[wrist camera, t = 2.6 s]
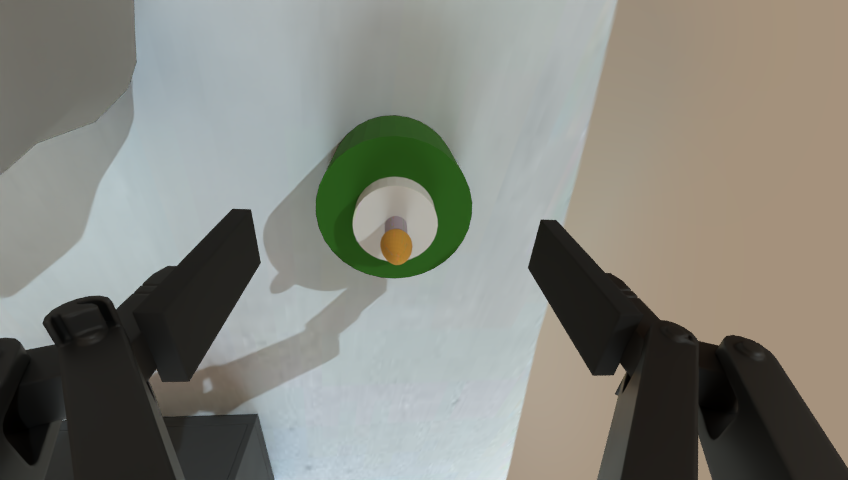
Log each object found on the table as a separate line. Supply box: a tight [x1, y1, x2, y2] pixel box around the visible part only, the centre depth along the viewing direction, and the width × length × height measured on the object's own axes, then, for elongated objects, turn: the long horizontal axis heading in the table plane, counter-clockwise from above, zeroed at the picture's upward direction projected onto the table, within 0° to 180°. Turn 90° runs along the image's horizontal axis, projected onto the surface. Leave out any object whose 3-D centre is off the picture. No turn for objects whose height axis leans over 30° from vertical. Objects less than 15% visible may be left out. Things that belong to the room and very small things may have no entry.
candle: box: [316, 115, 472, 278], centre depth 19 cm, size 8×8×10 cm
